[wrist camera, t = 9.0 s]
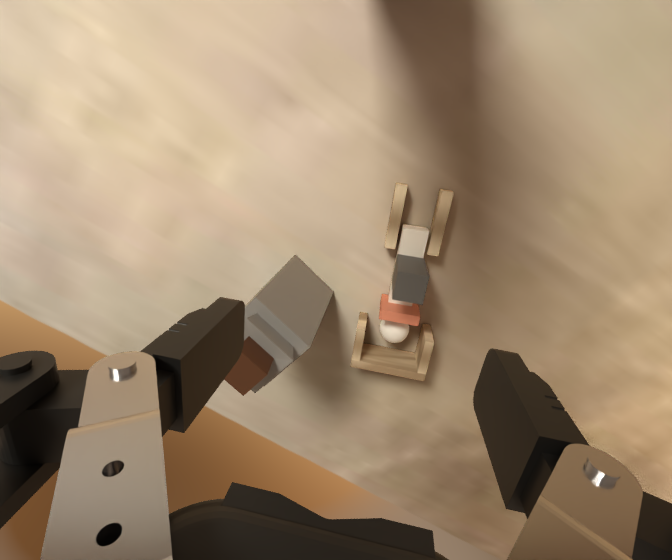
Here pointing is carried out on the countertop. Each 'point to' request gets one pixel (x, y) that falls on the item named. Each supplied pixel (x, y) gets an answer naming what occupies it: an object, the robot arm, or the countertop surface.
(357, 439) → the countertop surface
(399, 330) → the ball
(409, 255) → the gray block
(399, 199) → the rail guide
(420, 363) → the box
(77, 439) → the robot arm
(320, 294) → the perfume bottle
